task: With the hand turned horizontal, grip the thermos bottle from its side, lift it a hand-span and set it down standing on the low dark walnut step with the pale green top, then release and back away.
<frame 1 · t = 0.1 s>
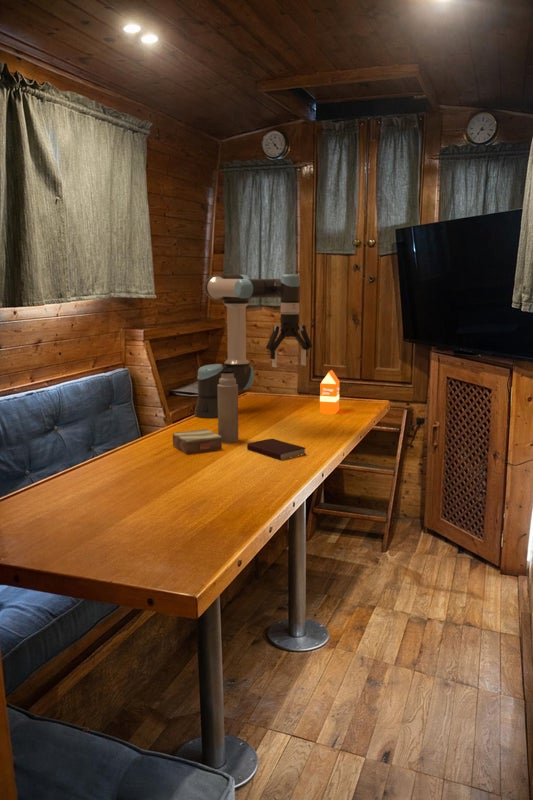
hand: (289, 366, 264), 28 cm above the table, tool pointing down, fingers open, 13 cm apart
book: (276, 453, 240), on the table
orange juice: (329, 412, 311), on the table
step: (197, 447, 246), on the table
thermos bottle: (228, 441, 257), on the table
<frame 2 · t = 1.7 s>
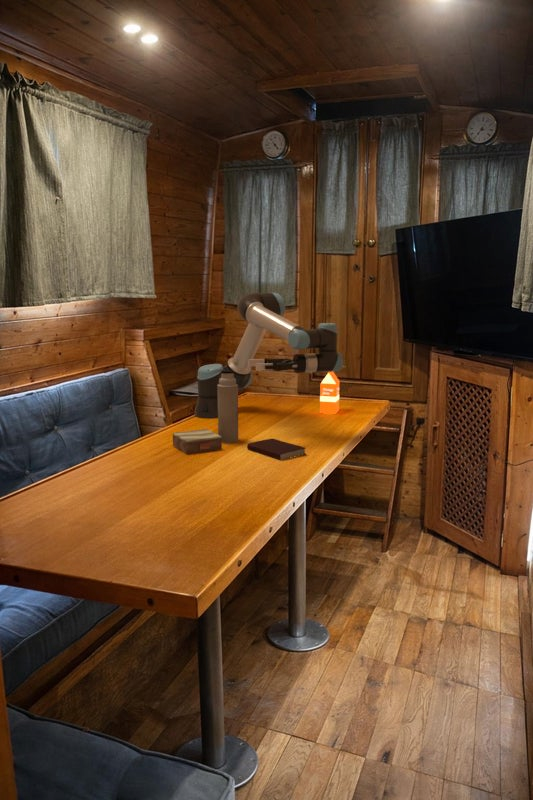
hand: (252, 365, 254), 30 cm above the table, tool horizontal, fingers open, 13 cm apart
nothing on the table moved.
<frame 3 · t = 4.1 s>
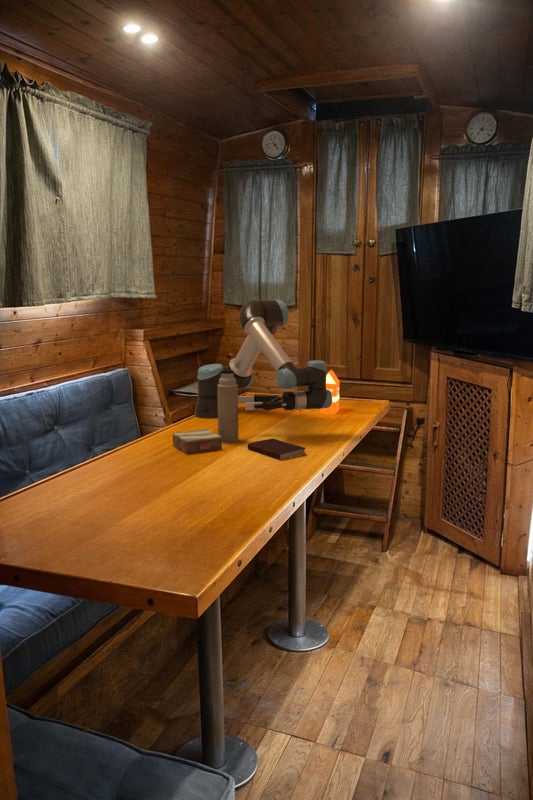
hand: (241, 403, 255), 15 cm above the table, tool horizontal, fingers open, 13 cm apart
nothing on the table moved.
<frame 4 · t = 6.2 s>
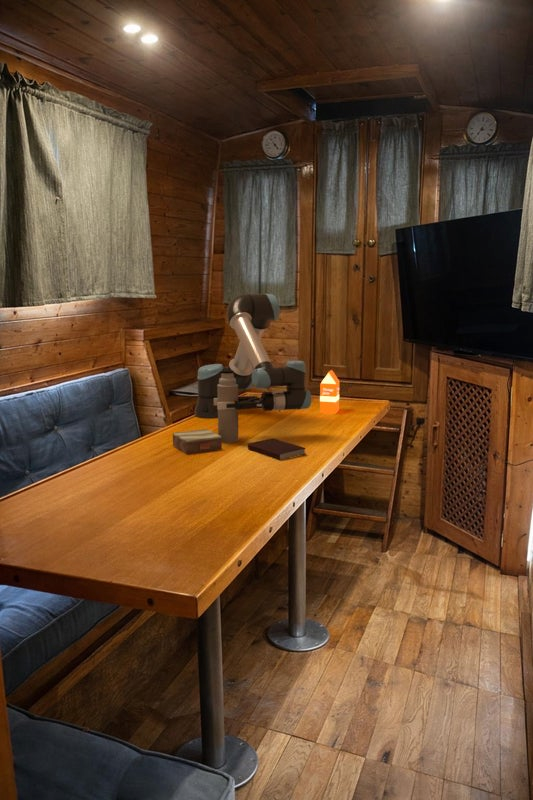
hand: (215, 403, 253), 15 cm above the table, tool horizontal, fingers closed on thermos bottle, 8 cm apart
thermos bottle: (228, 441, 257), on the table, touching gripper
everything else where it was.
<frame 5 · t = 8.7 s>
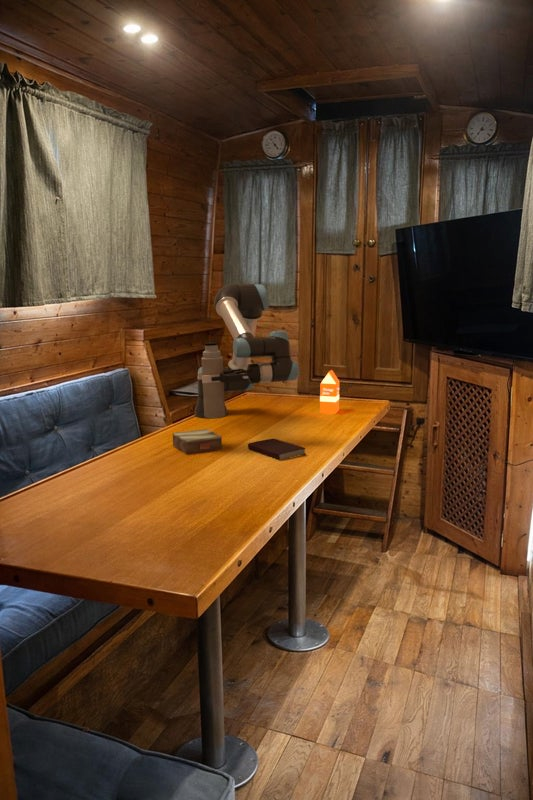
hand: (200, 377, 244), 26 cm above the table, tool horizontal, fingers closed on thermos bottle, 8 cm apart
thermos bottle: (214, 416, 248), point 11 cm above the table, touching gripper
everything else where it was.
when the fingers open (21 cm above the table, at t = 11.0 s): thermos bottle stays where it is, resting on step.
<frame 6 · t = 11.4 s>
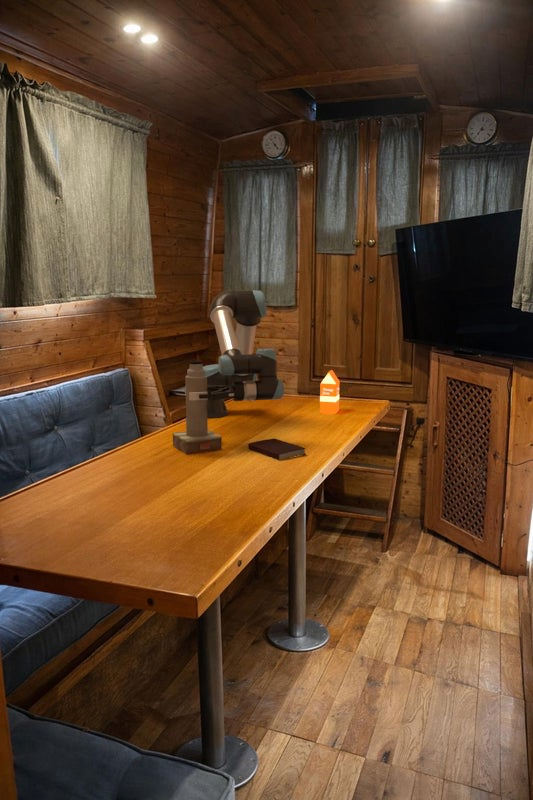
hand: (187, 393, 242), 21 cm above the table, tool horizontal, fingers open, 13 cm apart
thermos bottle: (197, 435, 246), point 5 cm above the table, touching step
everything else where it was.
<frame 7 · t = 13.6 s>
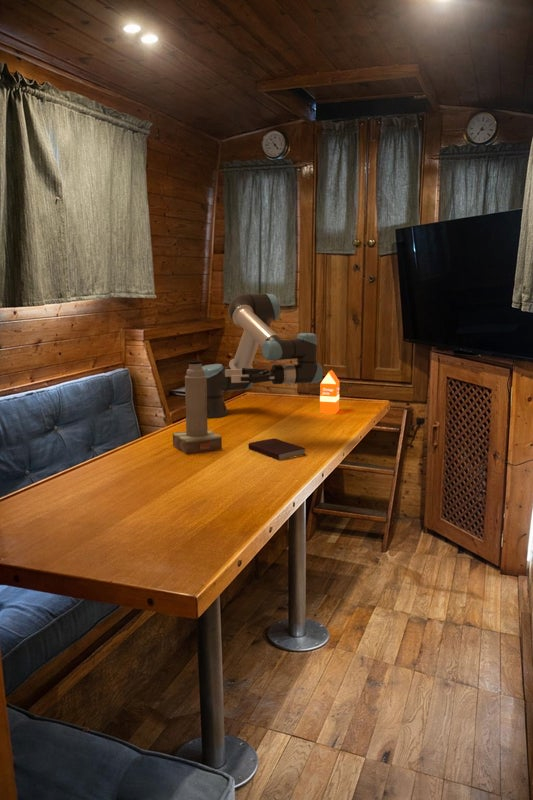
hand: (228, 375, 247), 27 cm above the table, tool horizontal, fingers open, 13 cm apart
nothing on the table moved.
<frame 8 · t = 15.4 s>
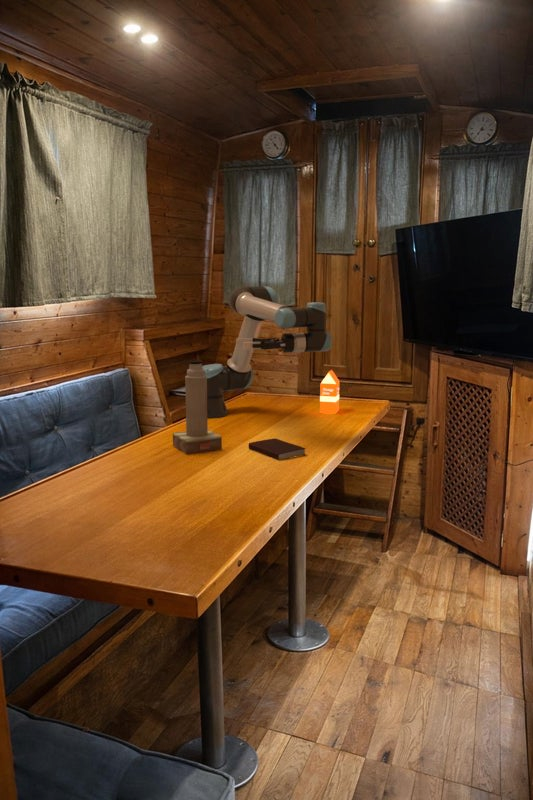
hand: (239, 344, 251), 38 cm above the table, tool horizontal, fingers open, 13 cm apart
nothing on the table moved.
at the end: thermos bottle inside the target area on the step (0.1 cm from its centre), point 4.8 cm above the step's base; thermos bottle tilted 0°; the gripper is holding nothing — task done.
